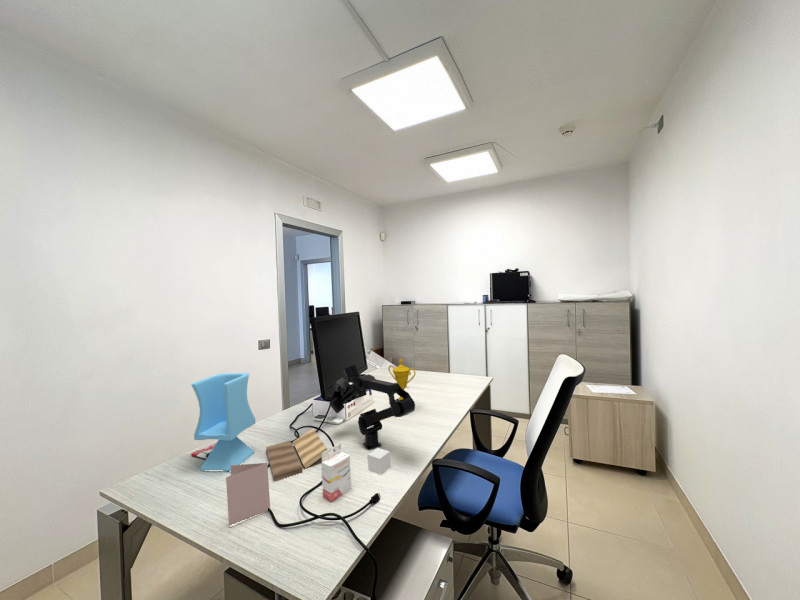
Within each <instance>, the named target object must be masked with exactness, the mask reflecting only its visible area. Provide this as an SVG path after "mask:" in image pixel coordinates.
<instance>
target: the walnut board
mask: <svg viewBox="0 0 800 600" xmlns="http://www.w3.org/2000/svg"><path fill="white" fill-rule="evenodd" d="M265 452H266V456H267V459H268V463H270V464H269V467H270V470H271V476H272V478H273V482H274V481H275V482H278V481H282V480H284V478H285V479H288V478H291V477H293V475H294V476H296V474H297V475H299V473H300V474H303V466H302V464H301V462H300V458H299V457H298V456H297V453H296V451H295V448H294V445H293V443H292V442H291V440H288V441H284V442H280V443H275V444H272V445H269V446H266V447H265ZM290 476H291V477H290ZM287 477H288V478H287Z"/></svg>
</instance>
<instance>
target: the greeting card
mask: <svg viewBox="0 0 800 600" xmlns="http://www.w3.org/2000/svg"><path fill="white" fill-rule="evenodd" d="M230 468H231V472H230V475H229V476H226V477H225V482H226V483H225V485H226V497H227V498H226V499H227V512H228V515H227V516H228V527H229V526H230V525H232V524H235V523H237V522H240V521H242V520H245V519H248V518H250V517H253V516H255V515H258V514H260V515H262V514H264V513H263V512H265V513H267V512H268V511H267V510H268V508H270V509H271V501H270V500H271V498H270V484H269V482H270V481H269V467H268V462H261V463H260V462H259V463H246V464H245V463H243V464H241V465H230ZM266 511H267V512H266ZM261 513H262V514H261ZM258 516H259V515H258ZM253 518H254V517H253Z"/></svg>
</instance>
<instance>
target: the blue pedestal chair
mask: <svg viewBox="0 0 800 600" xmlns="http://www.w3.org/2000/svg"><path fill="white" fill-rule="evenodd" d="M249 377H250V374H249V373H248V372H234V373H233V372H231V373H230V372H229V373H227V372H226V373H219V374H215V375H212V376H208V377H205V378H203V379H201V380H198V381H195V382H192V383H191V387H192V389H193V391H194V394H195V396H196V399H197V401H198V406H199V414H198V415H199V416H198V422H197V425H196V428H195V430H194V431H195V432H194V434H193V435H194V436H193V437H194V438H193V439H194V441H206V440H217V442H216V443H215V445H214V447H213V448H212V449H211V451H210V453H208V454H209V455H208V456H207V457H206V459H205V461H204V462H203V464H202V465H201V467H200V471H201V470H223V471H231V468H230V465H240V464H241V463H242V462H243V463H245V462H246V461H247V460H248V459H249V458H251V457H250V456H251V455H252V454H253V455H254V454H255V450H253V449H252V448H251V447H250V446H249V445H247V444H246V443H245V442H243V441H242V440H241V439H240V438H239V437H238V436H239V435H240V434H241V433H243V432H244V431H245V430H246V429H249V428H251V427H253V426H254V425H255V424H256V417H255V416H254V414H253V412H252V409H251V407H250V404H249V400H248V382H249ZM253 455H252V456H253ZM247 458H248V459H247ZM246 459H247V460H246ZM245 460H246V461H245ZM244 461H245V462H244ZM243 463H242V464H243ZM242 464H241V465H242Z"/></svg>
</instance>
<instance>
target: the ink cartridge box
mask: <svg viewBox="0 0 800 600" xmlns="http://www.w3.org/2000/svg"><path fill="white" fill-rule="evenodd" d="M332 451H333V452H332ZM320 465H321V482H322V483H321V484H322V497H323V498H325V499H327V501H330V502H333V501H335V500H336V499H338V498H340V497H341V496H343V495H344V494H346V493H347V492H348V491H350V490H351V489H352V479H351V478H352V476H351V456H350V454H348V453H346V452H343V451H342V444H341V443H339V444H337V445H335V446H332V447H331V448H327V451H325V452H323V453H322V457H321V464H320Z"/></svg>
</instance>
